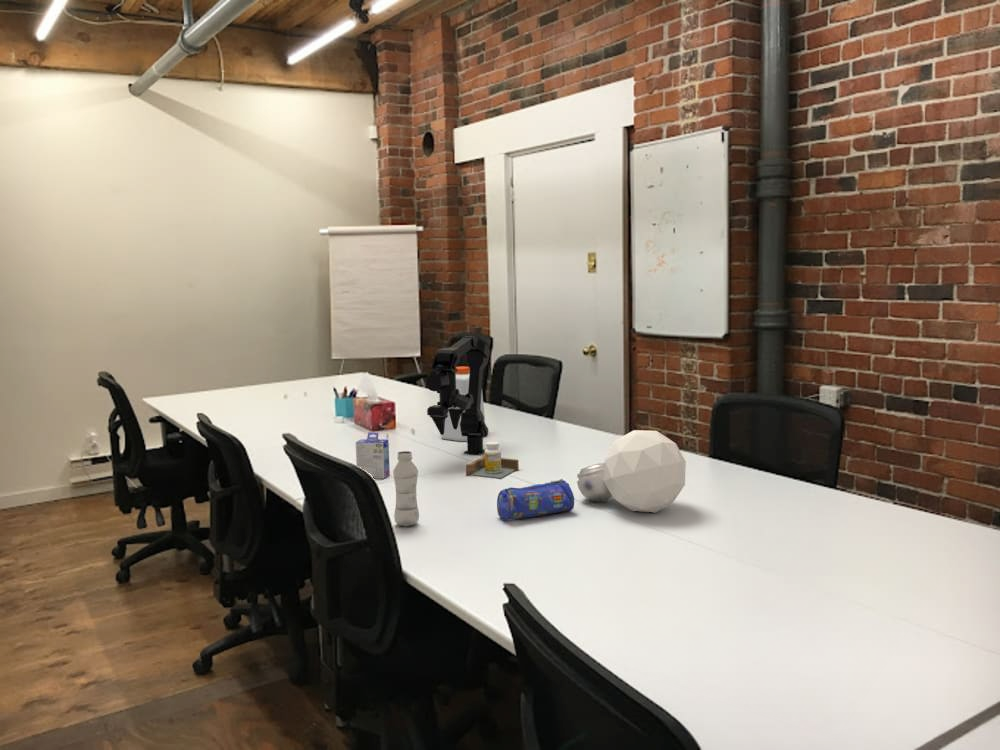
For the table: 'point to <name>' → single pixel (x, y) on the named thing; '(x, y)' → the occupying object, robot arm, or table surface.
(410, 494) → the plastic bottle
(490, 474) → the mat
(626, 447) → the lamp
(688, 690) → the table surface
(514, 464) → the corner walls
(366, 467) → the ink cartridge box
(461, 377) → the plastic bottle
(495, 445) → the supplement bottle
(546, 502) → the pencil case
